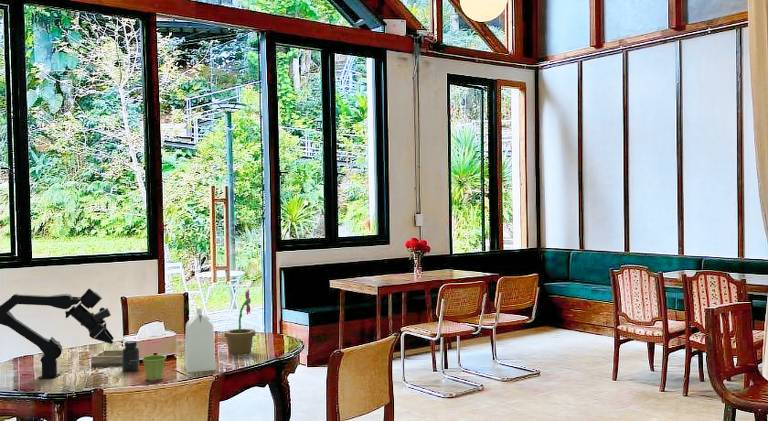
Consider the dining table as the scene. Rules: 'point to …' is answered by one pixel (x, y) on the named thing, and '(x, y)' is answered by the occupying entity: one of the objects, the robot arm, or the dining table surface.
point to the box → (107, 358)
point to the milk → (199, 344)
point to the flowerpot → (240, 334)
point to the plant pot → (154, 366)
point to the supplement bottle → (130, 356)
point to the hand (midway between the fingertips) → (112, 341)
